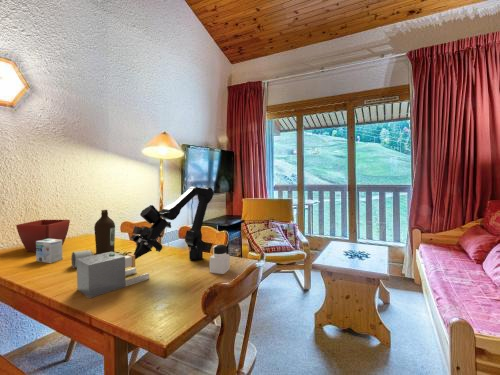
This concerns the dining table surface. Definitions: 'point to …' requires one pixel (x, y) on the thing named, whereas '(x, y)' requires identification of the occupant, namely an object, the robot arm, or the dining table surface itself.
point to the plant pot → (42, 232)
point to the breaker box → (104, 274)
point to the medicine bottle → (219, 260)
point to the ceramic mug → (79, 256)
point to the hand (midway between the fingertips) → (133, 259)
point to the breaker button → (129, 260)
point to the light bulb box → (49, 250)
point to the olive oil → (104, 234)
